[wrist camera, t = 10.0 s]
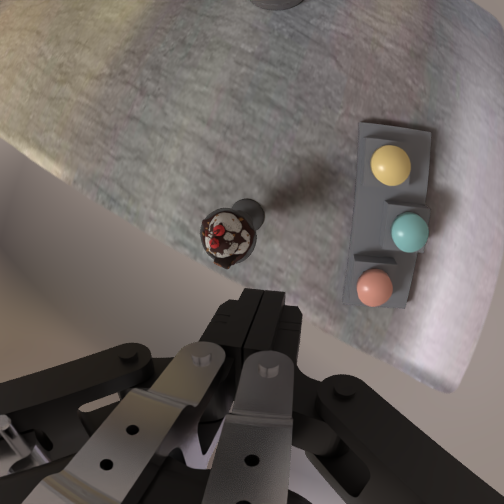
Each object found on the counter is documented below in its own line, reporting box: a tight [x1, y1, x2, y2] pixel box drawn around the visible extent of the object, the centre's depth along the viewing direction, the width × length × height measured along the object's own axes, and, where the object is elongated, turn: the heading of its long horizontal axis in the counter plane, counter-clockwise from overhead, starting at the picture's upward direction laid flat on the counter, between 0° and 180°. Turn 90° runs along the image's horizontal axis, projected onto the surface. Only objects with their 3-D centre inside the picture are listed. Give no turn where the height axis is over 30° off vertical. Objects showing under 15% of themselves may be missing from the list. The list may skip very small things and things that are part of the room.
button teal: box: [391, 212, 429, 252], centre depth 37 cm, size 5×5×4 cm
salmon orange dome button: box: [356, 269, 393, 306], centre depth 40 cm, size 5×5×4 cm
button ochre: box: [370, 145, 411, 186], centre depth 35 cm, size 5×5×4 cm
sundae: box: [200, 199, 264, 269], centre depth 38 cm, size 7×7×15 cm
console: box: [342, 122, 431, 309], centre depth 39 cm, size 26×10×4 cm, turn 179°
